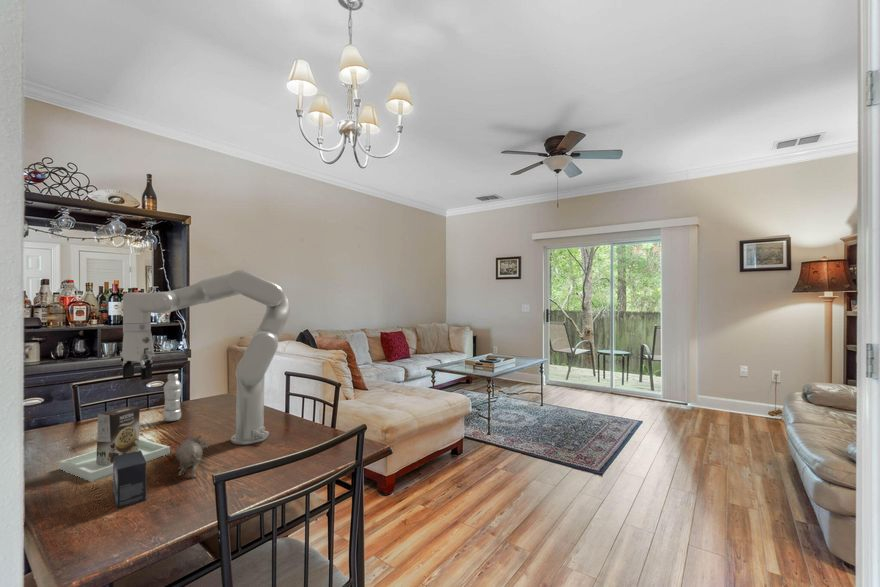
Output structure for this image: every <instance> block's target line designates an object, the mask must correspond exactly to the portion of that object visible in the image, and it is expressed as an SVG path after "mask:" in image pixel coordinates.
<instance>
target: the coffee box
mask: <svg viewBox="0 0 880 587" xmlns="http://www.w3.org/2000/svg"><path fill="white" fill-rule="evenodd" d="M140 411H141V410H140V407H137V406H122V407H118V408H115V409H112V410H107V411H103V412H99V413H97V429H96V430H97V432H96V435H97V436H96V450H97V457H96V464H101V465H107V466H110V465H113V460H114V456H118V455H123V454H127V453H131V452H135V451H139V438H140Z"/></svg>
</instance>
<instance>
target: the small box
mask: <svg viewBox="0 0 880 587" xmlns="http://www.w3.org/2000/svg"><path fill="white" fill-rule="evenodd" d="M112 479H113V480H112V488H113V489H112V490H113V492H112V493H113V497H114V502H115V506H116V509H121V508H124V507H127V506H132V505H135V504H137V503H141V502H145V501H147V462H146V460H145V458H144V456H143V454H142V452H141V450H139V451H135V452H131V453H127V454H123V455H118V456H114V460H113V474H112Z"/></svg>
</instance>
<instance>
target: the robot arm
mask: <svg viewBox="0 0 880 587" xmlns="http://www.w3.org/2000/svg"><path fill="white" fill-rule="evenodd" d="M238 295H242V296H244V297H246V298H249V299H251V300H253V301H255V302H257V303H260V304H262V305H264V306H266V311H265V313H264V315H263V317H262V319H261V322H260V324H259V326H258V328H257V330H256V331H255V332H254V334H253V335H252V337H251V339H250V341H249V342H248V343H249V344H248V345H247V347H246V349H245V351H244V354H243V355H242V357H241V359H240V360H239V362H238V364H237V365H236V368H235V374H234V375H235V378H236V398H235V400H236V402H235V403H236V404H235V406H236V407H235V434H233V435H232V436H231V437H230V442H231V443H232V444H234V445H243V446H244V445H252V444H256V443H261V442H263V441H264V440H266V439H267V438H268V436H270V431H268V430H267V431H266V426H264V424H265V423H264V422H265V420H264V418H265V417H264V414H265V411H264V410H265V375H266V373H267V371H268V370H269V367H270V365H271V363H272V361H273V359H274V357H275V355H276V352H277V350H278V346H279V339H280V337H281V335H282V333H283V331H284V328H285V326H286V324H287V321H288V320H289V316H290V309H291V306H290V302H289V299H288V297H287V295H286V293H285V292H284V289H283V288H282V286H280V285H278V284H276V283H275V282H272V281H269V280H268V279H265V278H263V277H260V276H258V275H256V274H254V273H252V272H250V271H248V270H245V269H236V270H233V272H230V273H226V274H222V275H217V276H214V277H208V278H205V279H202V280H199V281H197V282H196V283H193V284H190V285H188V286H185V287H181V288H177V289H172V290H168V291H156V292H150V293H149V292H139V291H138V292H135V291H134V292H126V293H124V294H123V295H122V334H123V338H122V348H121V350H122V351H120V352H119V355H120V361H121V365H122V377H123V378H130V377H133V376H135V364H134V362H136V363H139V364H140V366H141V367H140V380H143V381H145V380H148V379H149V380H150V379H152V378H153V366H154V362H155V358H156V354H155V348H154V340H153V335H152V330H151V329H152V327H151V326H152V325H151V324H152V323H151V317H152V316H151V313H153V314H167V313H171V312H174V311H179V310H182V309H186V308H190V307H193V306H194V307H195V306H196V305H201V304H209V303H213V302H216V301H218V300H219V301H220V300H223V299H227V298H230V297H235V296H238Z"/></svg>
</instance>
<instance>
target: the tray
mask: <svg viewBox="0 0 880 587" xmlns="http://www.w3.org/2000/svg"><path fill="white" fill-rule="evenodd" d="M139 450H141V452H142V454H143V456H144V458H145V460H146V463H148V462H147V461H149V462H151V461H150V460H152V461H154V460H153V459H155V460H157V459H156V458H158V457H161V456H163V457H166V456H169V455H171V446H168V445H165V444H161V443H158V442H154V441H151V440H147V439H143V438H140V437H139ZM168 454H169V455H168ZM165 455H166V456H165ZM96 457H97V449H96V450H94V451H93V450H92V451H89V452H87V453H84V454H83V453H82V454H79V455H77V456H73V457H70V458H66V459H62V460H59V469H61V470H63V471H62V472H64V471H65V472H64V473H67V474H69V473H70V474H69V475H72V474H73V475H72V476H74V475H75V476H74V477H77V476H78V477H77V478H79V477H80V479H82V478H83V479H82V480H84V481H87V480H88V481H87V482H90V483H92V482H95V481H98V480H101V479H104V478H106V477H110V476H113V465H110V466H107V465H101V464H96ZM161 458H162V457H161ZM158 459H159V458H158ZM59 469H58V470H59ZM61 470H60V471H61Z"/></svg>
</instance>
